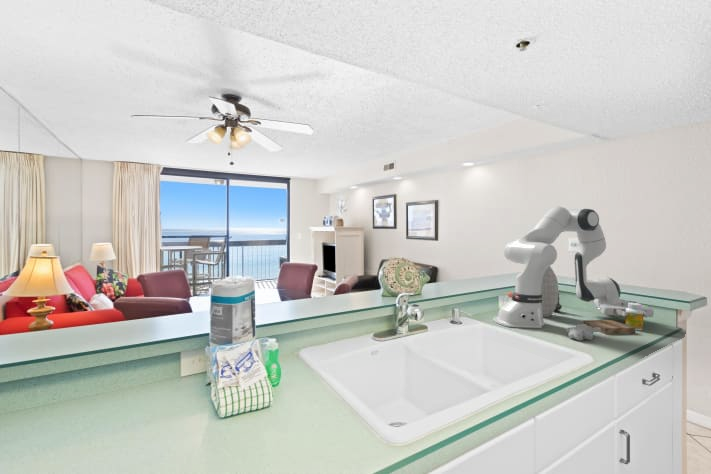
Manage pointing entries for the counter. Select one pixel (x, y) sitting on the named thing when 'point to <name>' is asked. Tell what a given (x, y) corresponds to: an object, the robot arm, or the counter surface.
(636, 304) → the supplement bottle
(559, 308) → the salt shaker
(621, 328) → the walnut base
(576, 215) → the robot arm
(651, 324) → the counter surface
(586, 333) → the bunny figurine
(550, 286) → the vase
